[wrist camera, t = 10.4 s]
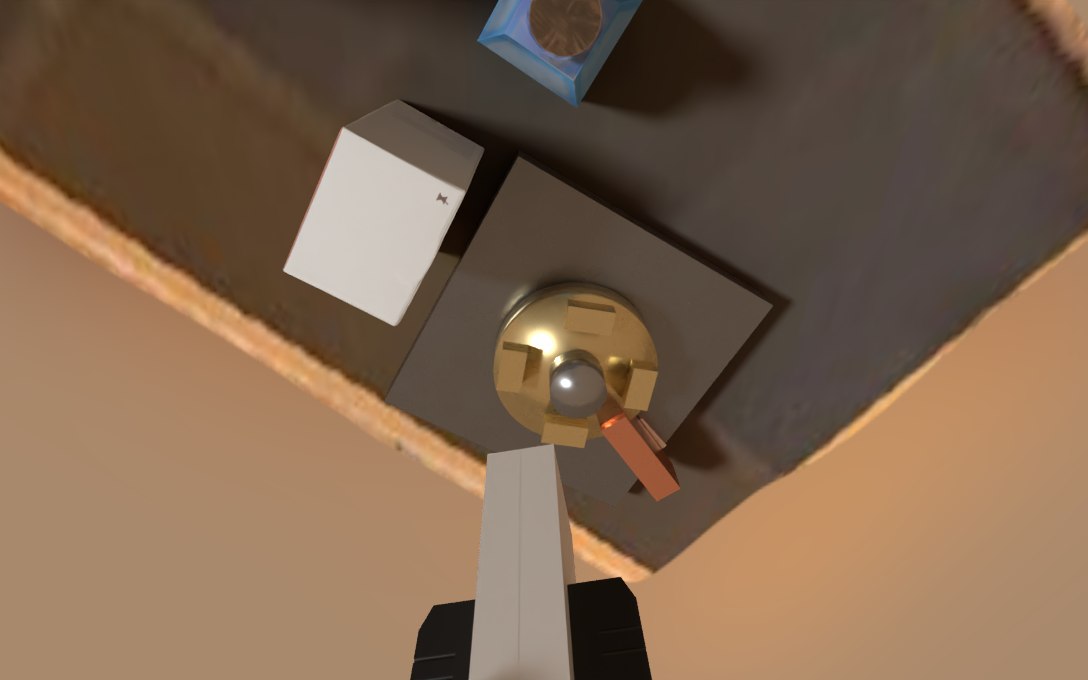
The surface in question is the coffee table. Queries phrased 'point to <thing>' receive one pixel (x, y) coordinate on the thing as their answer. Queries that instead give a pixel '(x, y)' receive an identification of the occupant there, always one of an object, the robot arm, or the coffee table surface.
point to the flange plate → (569, 254)
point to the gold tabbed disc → (626, 360)
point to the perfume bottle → (558, 39)
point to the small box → (383, 209)
